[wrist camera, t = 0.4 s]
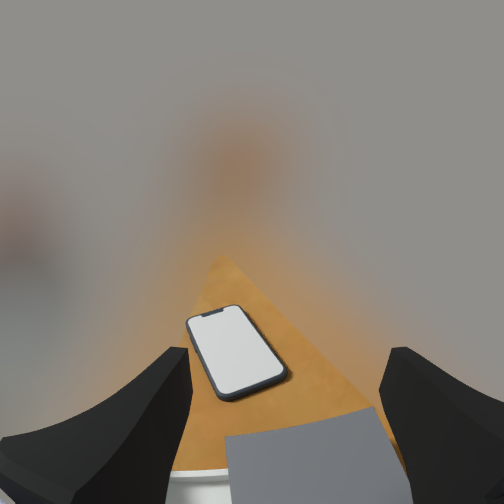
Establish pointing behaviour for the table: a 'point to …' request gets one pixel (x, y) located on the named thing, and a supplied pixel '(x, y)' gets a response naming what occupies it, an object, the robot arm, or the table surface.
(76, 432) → the robot arm
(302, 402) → the table surface
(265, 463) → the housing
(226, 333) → the smartphone
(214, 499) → the tray
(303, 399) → the table surface
